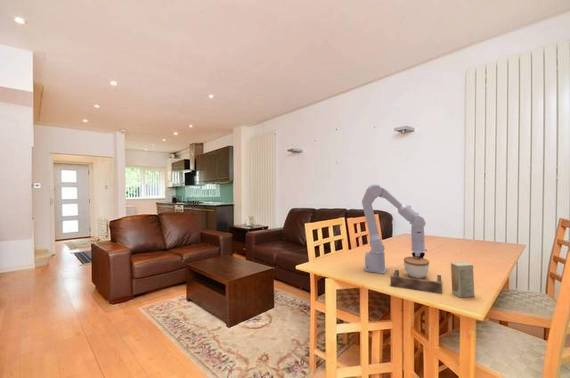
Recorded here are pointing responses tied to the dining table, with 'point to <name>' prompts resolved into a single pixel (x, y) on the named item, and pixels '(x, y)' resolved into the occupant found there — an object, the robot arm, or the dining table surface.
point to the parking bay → (416, 283)
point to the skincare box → (462, 279)
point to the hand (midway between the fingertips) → (418, 267)
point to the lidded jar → (416, 266)
